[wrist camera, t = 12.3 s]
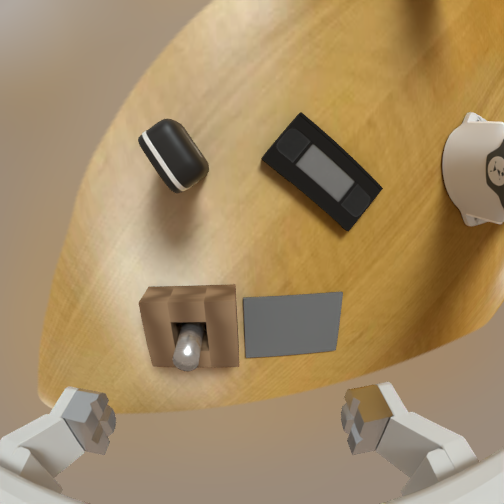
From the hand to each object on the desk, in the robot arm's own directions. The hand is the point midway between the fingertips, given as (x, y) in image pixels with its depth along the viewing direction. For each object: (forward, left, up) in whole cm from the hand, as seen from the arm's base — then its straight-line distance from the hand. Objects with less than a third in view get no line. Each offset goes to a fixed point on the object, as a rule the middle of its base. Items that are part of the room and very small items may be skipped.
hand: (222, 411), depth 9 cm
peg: (+6, +13, -30) cm, 33 cm away
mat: (-8, +15, -30) cm, 35 cm away
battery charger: (+5, -9, -30) cm, 32 cm away
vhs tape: (-12, -6, -31) cm, 34 cm away
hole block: (+6, +13, -30) cm, 33 cm away
